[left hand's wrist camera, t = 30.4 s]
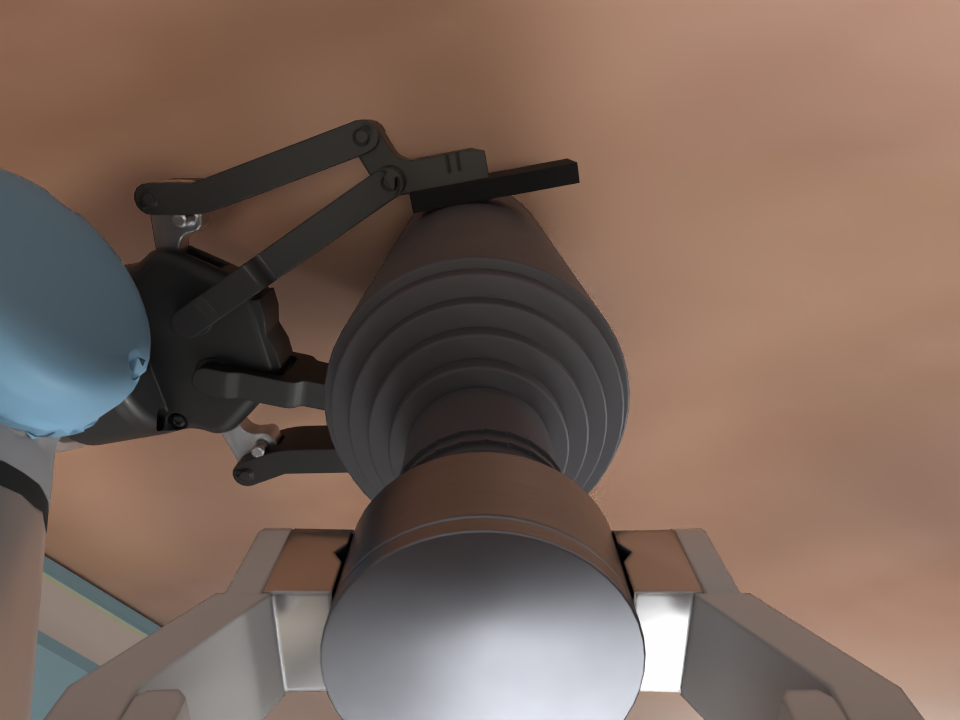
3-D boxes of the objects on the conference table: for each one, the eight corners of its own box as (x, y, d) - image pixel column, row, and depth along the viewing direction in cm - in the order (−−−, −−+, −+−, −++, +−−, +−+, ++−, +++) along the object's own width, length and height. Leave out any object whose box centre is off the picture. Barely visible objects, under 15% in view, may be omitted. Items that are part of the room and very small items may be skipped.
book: (254, 684, 43) (227, 753, 39) (126, 808, 47) (88, 884, 43) (-64, 489, 38) (-140, 541, 33) (-178, 648, 42) (-260, 715, 37)
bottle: (572, 224, 33) (783, 427, 11) (508, 354, 35) (575, 738, 13) (433, 159, 32) (352, 240, 10) (376, 298, 34) (207, 619, 12)
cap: (313, 481, 10) (272, 568, 8) (591, 422, 10) (618, 499, 8) (391, 690, 11) (373, 804, 10) (634, 646, 11) (667, 757, 9)
